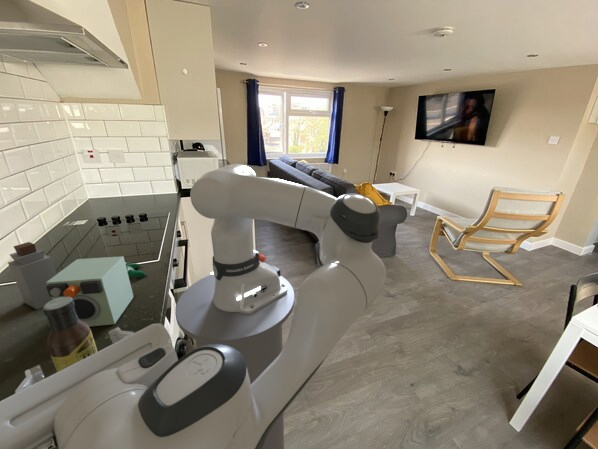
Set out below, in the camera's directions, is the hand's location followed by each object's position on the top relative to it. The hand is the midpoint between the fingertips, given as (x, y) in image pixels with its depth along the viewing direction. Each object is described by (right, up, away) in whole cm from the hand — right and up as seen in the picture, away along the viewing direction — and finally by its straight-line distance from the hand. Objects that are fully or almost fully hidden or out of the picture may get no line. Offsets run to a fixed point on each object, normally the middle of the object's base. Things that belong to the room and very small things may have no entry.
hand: (77, 350), depth 39 cm
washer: (-23, -6, +35) cm, 42 cm away
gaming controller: (-25, +1, +53) cm, 59 cm away
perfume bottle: (-43, -4, +40) cm, 59 cm away
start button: (-21, +2, +24) cm, 32 cm away
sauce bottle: (-10, -14, +14) cm, 22 cm away
